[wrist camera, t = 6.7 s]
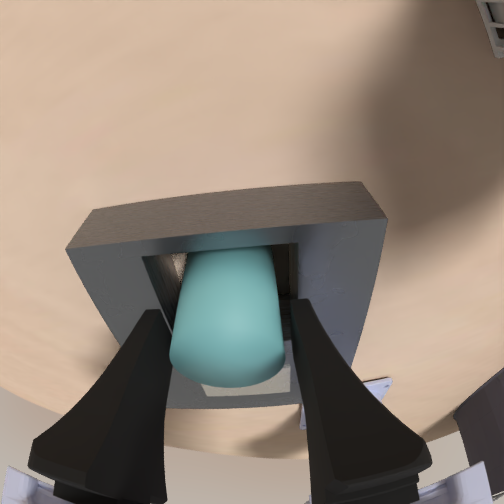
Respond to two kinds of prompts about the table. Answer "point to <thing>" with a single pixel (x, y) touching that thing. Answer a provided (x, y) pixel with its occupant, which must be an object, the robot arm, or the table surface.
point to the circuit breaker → (493, 23)
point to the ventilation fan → (485, 430)
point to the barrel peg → (228, 318)
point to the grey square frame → (235, 236)
